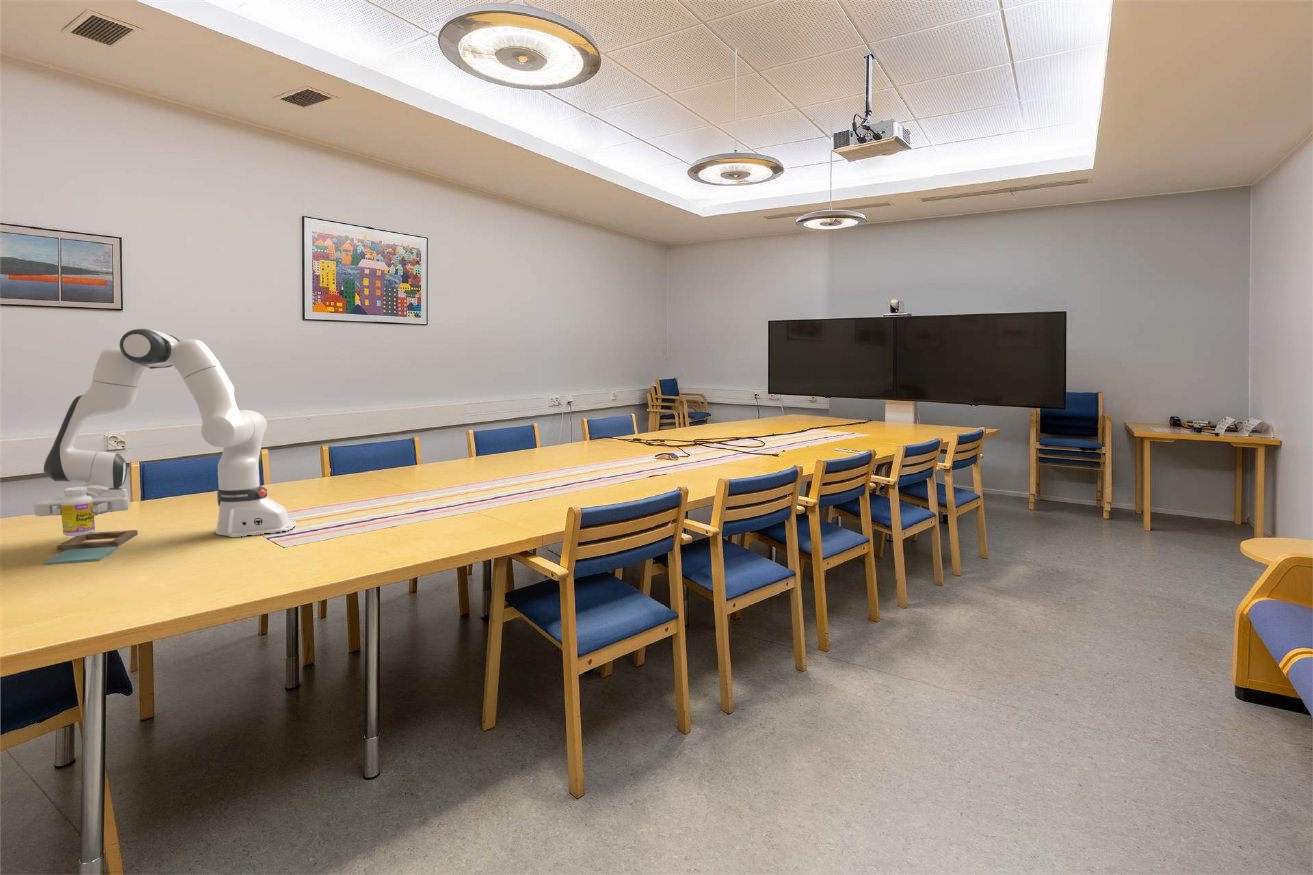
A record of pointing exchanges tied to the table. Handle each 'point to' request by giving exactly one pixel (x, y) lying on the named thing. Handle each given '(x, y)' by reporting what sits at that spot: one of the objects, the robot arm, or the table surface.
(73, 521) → the supplement bottle
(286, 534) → the table surface
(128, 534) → the brown wooden square frame
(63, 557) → the teal mat
